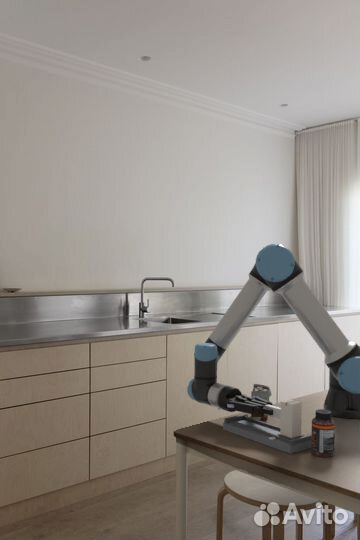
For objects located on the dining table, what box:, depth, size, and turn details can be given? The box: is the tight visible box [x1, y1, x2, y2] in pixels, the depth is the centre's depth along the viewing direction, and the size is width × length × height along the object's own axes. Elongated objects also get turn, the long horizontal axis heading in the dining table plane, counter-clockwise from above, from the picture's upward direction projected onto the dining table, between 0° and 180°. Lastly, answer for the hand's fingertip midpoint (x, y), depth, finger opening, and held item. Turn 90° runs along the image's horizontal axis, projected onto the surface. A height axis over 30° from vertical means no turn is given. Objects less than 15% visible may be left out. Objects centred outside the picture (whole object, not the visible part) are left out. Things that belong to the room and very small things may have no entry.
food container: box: [250, 383, 273, 422], centre depth 171 cm, size 12×6×10 cm, turn 168°
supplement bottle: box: [310, 408, 336, 458], centre depth 139 cm, size 6×6×11 cm
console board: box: [222, 413, 312, 455], centre depth 152 cm, size 10×26×3 cm, turn 38°
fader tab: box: [278, 399, 305, 440], centre depth 145 cm, size 5×5×10 cm
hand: (283, 414), depth 147 cm, fingers closed
